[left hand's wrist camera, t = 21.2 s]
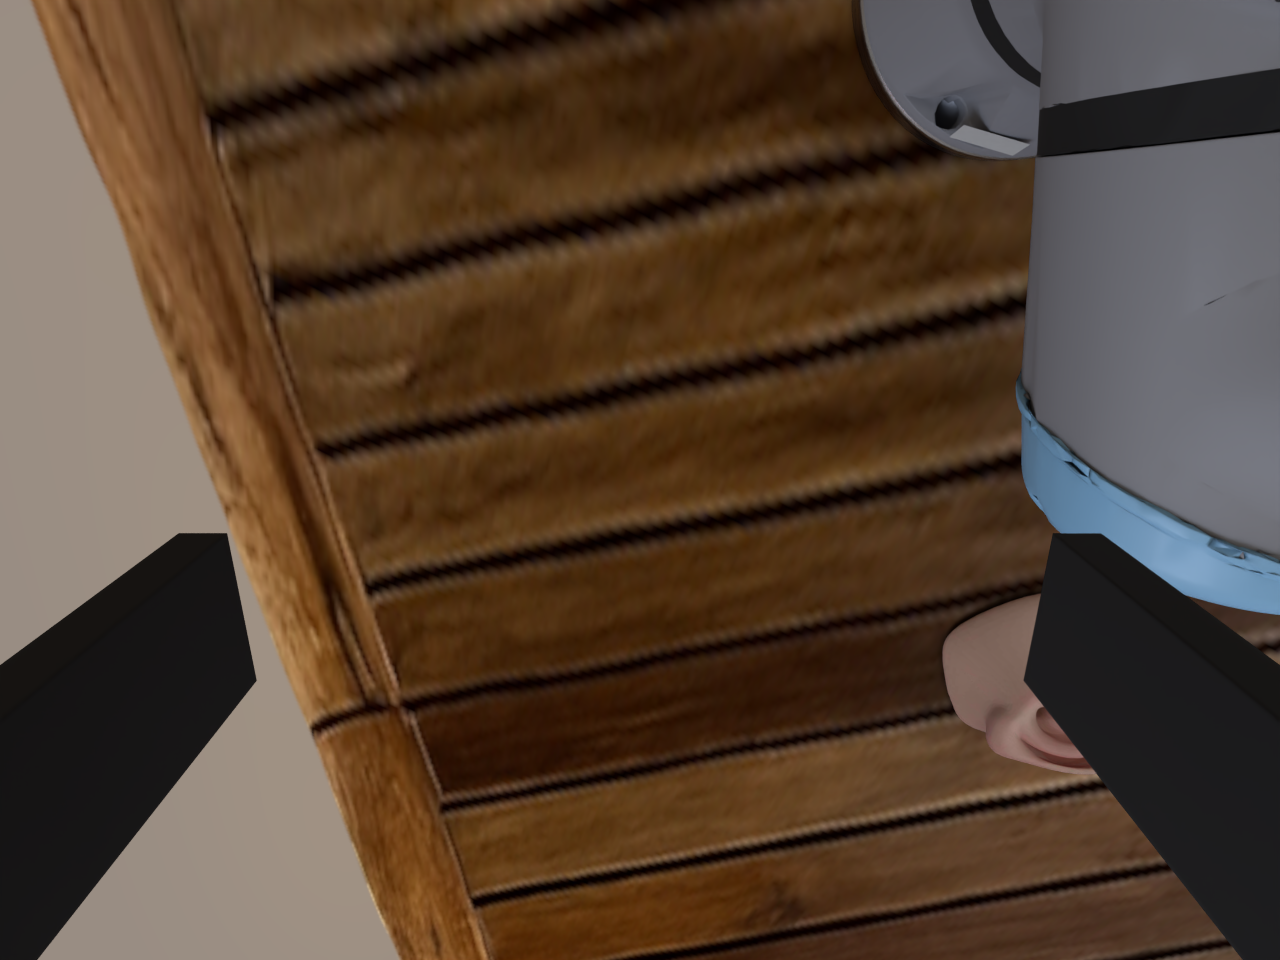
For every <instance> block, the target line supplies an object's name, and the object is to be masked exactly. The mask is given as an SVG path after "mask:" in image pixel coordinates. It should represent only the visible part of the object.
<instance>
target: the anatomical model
mask: <svg viewBox="0 0 1280 960" xmlns="http://www.w3.org/2000/svg"><path fill="white" fill-rule="evenodd" d="M1040 596H1041V594H1036V595H1031V596H1026V597H1023V598H1019V599H1016V600H1013V601H1010V602H1007V603H1004V604H1002V605H999V606H997V607H994V608H992V609H990V610H987V611H985V612H983V613H981V614H978V615H976V616H974V617H973V618H971V619H969V620H967V621H965V622H964V623H962V624H960V625H959V626H958V627H956V628H955V629H954V630H953V631H952V632H951V633H950V634H949V635H948V637H947V638H946V640H945V642H944V646H943V667H944V674H945V680H946V686H947V690H948V693H949V696H950V699H951V701H952V704H953V707H954V709H955V711H956V713H957V715H958V716H959V718H960V719H961V720H962V721H963V722H964V723H966V724H967V725H969V726H971V727H973V728H975V729H978V730H981V731H984V732H986V739H987V742H988V744H989V746H990V748H991V749H992V750H993V751H994V752H995V753H997V754H999V755H1001V756H1004V757H1006V758H1010V759H1014V760H1018V761H1021V762H1025V763H1029V764H1032V765H1036V766H1039V767H1043V768H1047V769H1051V770H1055V771H1059V772H1065V773H1072V774H1096V772H1095V771H1094V770H1093V769H1092V767H1091V766H1090V765H1089V763H1088V762H1087V761H1086V760H1085V758H1084V757H1083V756H1082V755H1081V753H1080V752H1079V751H1078V749H1077V748H1076V747H1075V746H1074V744H1073V743H1072V742H1071V741H1070V739H1069V738H1068V737H1067V735H1066V734H1065V733H1064V732H1063V730H1062V729H1061V728H1060V727H1059V725H1058V724H1057V723H1056V721H1055V720H1054V719H1053V718H1052V716H1051V715H1050V714H1049V713H1048V711H1047V710H1046V709H1045V707H1044V706H1043V705H1042V704H1041V702H1040V701H1039V700H1038V699H1037V697H1036V696H1035V695H1034V693H1033V692H1032V691H1031V690H1030V688H1029V687H1028V686H1027V685H1026V683H1025V682H1024V681H1023V680H1024V675H1025V670H1026V665H1027V660H1028V655H1029V650H1030V645H1031V640H1032V635H1033V630H1034V625H1035V620H1036V615H1037V610H1038V605H1039V600H1040Z"/></svg>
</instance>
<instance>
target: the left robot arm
mask: <svg viewBox="0 0 1280 960" xmlns="http://www.w3.org/2000/svg"><path fill="white" fill-rule="evenodd" d="M852 17H853V27H854V33H855V38H856V43H857V48H858V51H859V55H860V58H861V61H862V64H863V67H864V69H865V72H866V74H867V77H868V79H869V81H870V83H871V85H872V87H873V89H874V90H875V92H876V94H877V96H878V97H879V99H880V100H881V102H882V103H883V105H884V106H885V107H886V109H887V110H888V111H889V112H890V113H891V115H892V116H893V117H894V118H895V119H896V120H897V121H898V122H899V123H900V124H901V125H902V126H903V127H904V128H905V129H906V130H908V131H909V132H910V133H912V134H913V135H914V136H915V137H917V138H918V139H920V140H922V141H923V142H925V143H927V144H928V145H930V146H932V147H934V148H936V149H938V150H941V151H943V152H945V153H949V154H952V155H955V156H958V157H962V158H967V159H972V160H983V161H1006V160H1017V159H1026V158H1034V157H1036V158H1035V176H1034V195H1033V213H1032V230H1031V244H1030V258H1029V273H1028V287H1027V302H1026V316H1025V331H1024V345H1023V359H1022V369H1021V372H1020V375H1019V377H1018V379H1017V381H1016V398H1017V402H1018V406H1019V409H1020V411H1021V413H1022V473H1023V478H1024V481H1025V485H1026V488H1027V490H1028V492H1029V494H1030V496H1031V498H1032V500H1033V501H1034V502H1035V503H1036V504H1037V506H1038V507H1039V508H1040V509H1041V510H1042V511H1043V512H1044V513H1045V514H1046V516H1047V518H1048V520H1049V522H1050V523H1051V524H1052V525H1053V526H1054V527H1055V528H1056V529H1057V530H1058V531H1059V532H1061V533H1053V536H1052V541H1051V546H1050V551H1049V556H1048V561H1047V566H1046V571H1045V576H1044V581H1043V586H1042V591H1041V596H1040V600H1039V605H1038V610H1037V615H1036V620H1035V625H1034V630H1033V635H1032V640H1031V645H1030V650H1029V655H1028V660H1027V665H1026V670H1025V675H1024V680H1023V681H1024V682H1025V683H1026V685H1027V686H1028V687H1029V688H1030V690H1031V691H1032V692H1033V693H1034V695H1035V696H1036V697H1037V699H1038V700H1039V701H1040V702H1041V704H1042V705H1043V706H1044V707H1045V709H1046V710H1047V711H1048V713H1049V714H1050V715H1051V716H1052V718H1053V719H1054V720H1055V721H1056V723H1057V724H1058V725H1059V727H1060V728H1061V729H1062V730H1063V732H1064V733H1065V734H1066V735H1067V737H1068V738H1069V739H1070V741H1071V742H1072V743H1073V744H1074V746H1075V747H1076V748H1077V749H1078V751H1079V752H1080V753H1081V755H1082V756H1083V757H1084V758H1085V760H1086V761H1087V762H1088V763H1089V765H1090V766H1091V767H1092V769H1093V770H1094V771H1095V772H1096V774H1097V775H1098V776H1099V777H1100V779H1101V780H1102V781H1103V783H1104V784H1105V785H1106V786H1107V788H1108V789H1109V790H1110V791H1111V793H1112V794H1113V795H1114V797H1115V798H1116V799H1117V800H1118V802H1119V803H1120V804H1121V805H1122V807H1123V808H1124V809H1125V811H1126V812H1127V813H1128V814H1129V816H1130V817H1131V818H1132V819H1133V821H1134V822H1135V823H1136V825H1137V826H1138V827H1139V828H1140V830H1141V831H1142V832H1143V833H1144V835H1145V836H1146V837H1147V839H1148V840H1149V841H1150V842H1151V844H1152V845H1153V846H1154V847H1155V849H1156V850H1157V851H1158V853H1159V854H1160V855H1161V856H1162V858H1163V859H1164V860H1165V861H1166V863H1167V864H1168V865H1169V867H1170V868H1171V869H1172V870H1173V872H1174V873H1175V874H1176V875H1177V877H1178V878H1179V879H1180V880H1181V882H1182V883H1183V884H1184V886H1185V887H1186V888H1187V889H1188V891H1189V892H1190V893H1191V894H1192V896H1193V897H1194V898H1195V900H1196V901H1197V902H1198V903H1199V905H1200V906H1201V907H1202V908H1203V910H1204V911H1205V912H1206V914H1207V915H1208V916H1209V917H1210V919H1211V920H1212V921H1213V922H1214V924H1215V925H1216V926H1217V928H1218V929H1219V930H1220V931H1221V933H1222V934H1223V935H1224V936H1225V938H1226V939H1227V940H1228V942H1229V943H1230V944H1231V945H1232V947H1233V948H1234V949H1235V950H1236V952H1237V953H1238V954H1239V956H1240V957H1241V958H1242V959H1243V960H1280V665H1279V664H1278V663H1276V662H1275V661H1273V660H1272V659H1271V658H1269V657H1268V656H1267V655H1265V654H1264V653H1263V652H1261V651H1260V650H1259V649H1257V648H1256V647H1254V646H1253V645H1252V644H1250V643H1249V642H1248V641H1246V640H1245V639H1244V638H1242V637H1241V636H1240V635H1238V634H1237V633H1236V632H1234V631H1233V630H1231V629H1230V628H1229V627H1227V626H1226V625H1225V624H1223V623H1222V622H1221V621H1219V620H1218V619H1217V618H1215V617H1214V616H1212V615H1211V614H1210V613H1208V612H1207V611H1206V610H1204V609H1203V608H1202V607H1200V606H1199V605H1198V604H1196V603H1195V602H1194V601H1192V600H1191V599H1189V598H1188V597H1187V596H1190V597H1194V598H1198V599H1201V600H1205V601H1208V602H1212V603H1216V604H1220V605H1224V606H1229V607H1233V608H1238V609H1243V610H1249V611H1255V612H1261V613H1269V614H1277V615H1280V0H852ZM1185 595H1187V596H1185ZM255 682H256V675H255V670H254V665H253V660H252V655H251V650H250V645H249V640H248V635H247V630H246V625H245V620H244V615H243V610H242V605H241V600H240V596H239V591H238V586H237V581H236V576H235V571H234V566H233V561H232V556H231V551H230V546H229V541H228V536H227V533H179V534H177V535H176V536H175V537H173V538H172V539H170V540H169V541H168V542H166V543H165V544H164V545H162V546H161V547H160V548H158V549H157V550H156V551H154V552H153V553H152V554H150V555H149V556H148V557H146V558H145V559H143V560H142V561H141V562H139V563H138V564H137V565H135V566H134V567H133V568H131V569H130V570H128V571H127V572H126V573H124V574H123V575H122V576H120V577H119V578H118V579H116V580H115V581H114V582H112V583H111V584H109V585H108V586H107V587H105V588H104V589H103V590H101V591H100V592H99V593H97V594H96V595H95V596H93V597H92V598H91V599H89V600H88V601H86V602H85V603H84V604H82V605H81V606H80V607H78V608H77V609H76V610H74V611H73V612H72V613H70V614H69V615H68V616H66V617H65V618H63V619H62V620H61V621H59V622H58V623H57V624H55V625H54V626H53V627H51V628H50V629H49V630H47V631H46V632H45V633H43V634H42V635H40V636H39V637H38V638H36V639H35V640H34V641H32V642H31V643H30V644H28V645H27V646H26V647H24V648H23V649H21V650H20V651H19V652H17V653H16V654H15V655H13V656H12V657H11V658H9V659H8V660H7V661H5V662H4V663H3V664H1V665H0V960H37V959H38V958H39V957H40V956H41V954H42V953H43V952H44V950H45V949H46V948H47V947H48V945H49V944H50V943H51V942H52V940H53V939H54V938H55V936H56V935H57V934H58V933H59V931H60V930H61V929H62V928H63V926H64V925H65V924H66V922H67V921H68V920H69V919H70V917H71V916H72V915H73V914H74V912H75V911H76V910H77V908H78V907H79V906H80V905H81V903H82V902H83V901H84V900H85V898H86V897H87V896H88V894H89V893H90V892H91V891H92V889H93V888H94V887H95V886H96V884H97V883H98V882H99V880H100V879H101V878H102V877H103V875H104V874H105V873H106V872H107V870H108V869H109V868H110V866H111V865H112V864H113V863H114V861H115V860H116V859H117V858H118V856H119V855H120V854H121V852H122V851H123V850H124V849H125V847H126V846H127V845H128V844H129V842H130V841H131V840H132V839H133V837H134V836H135V835H136V833H137V832H138V831H139V830H140V828H141V827H142V826H143V825H144V823H145V822H146V821H147V819H148V818H149V817H150V816H151V814H152V813H153V812H154V810H155V809H156V808H157V807H158V805H159V804H160V803H161V802H162V800H163V799H164V798H165V796H166V795H167V794H168V793H169V791H170V790H171V789H172V788H173V786H174V785H175V784H176V783H177V781H178V780H179V779H180V777H181V776H182V775H183V774H184V772H185V771H186V770H187V769H188V767H189V766H190V765H191V763H192V762H193V761H194V760H195V758H196V757H197V756H198V754H199V753H200V752H201V751H202V749H203V748H204V747H205V746H206V744H207V743H208V742H209V741H210V739H211V738H212V737H213V735H214V734H215V733H216V732H217V730H218V729H219V728H220V727H221V725H222V724H223V723H224V721H225V720H226V719H227V718H228V716H229V715H230V714H231V713H232V711H233V710H234V709H235V707H236V706H237V705H238V704H239V702H240V701H241V700H242V699H243V697H244V696H245V695H246V693H247V692H248V691H249V690H250V688H251V687H252V686H253V685H254V683H255Z"/></svg>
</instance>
